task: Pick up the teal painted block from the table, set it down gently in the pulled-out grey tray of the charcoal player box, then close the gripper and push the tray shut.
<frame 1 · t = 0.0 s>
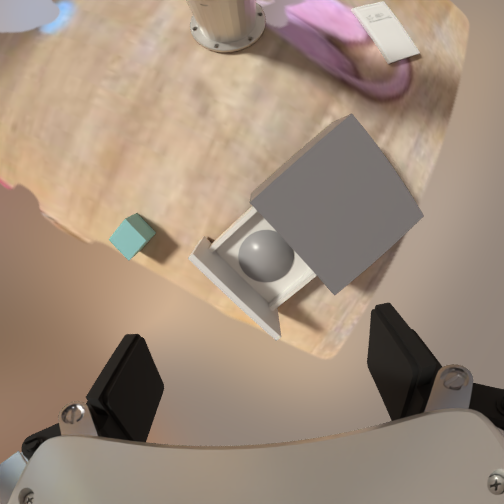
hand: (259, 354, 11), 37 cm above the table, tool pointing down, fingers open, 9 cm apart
external hard drive: (384, 32, 36), on the table
tray: (279, 252, 43), point 5 cm above the table, slide at 10.0 cm
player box: (328, 197, 46), on the table
teal block: (138, 232, 48), on the table
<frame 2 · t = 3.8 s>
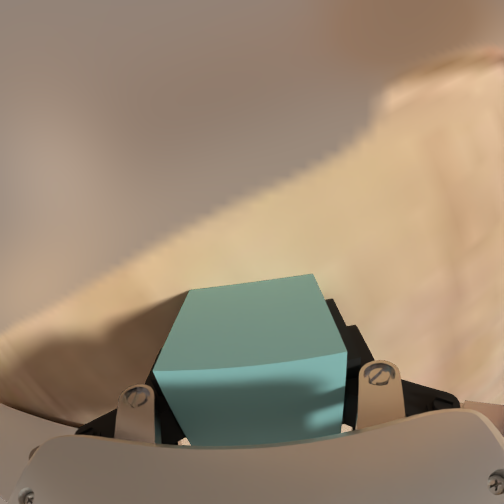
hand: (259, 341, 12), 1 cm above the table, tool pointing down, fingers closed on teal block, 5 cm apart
teal block: (259, 334, 12), on the table, touching gripper
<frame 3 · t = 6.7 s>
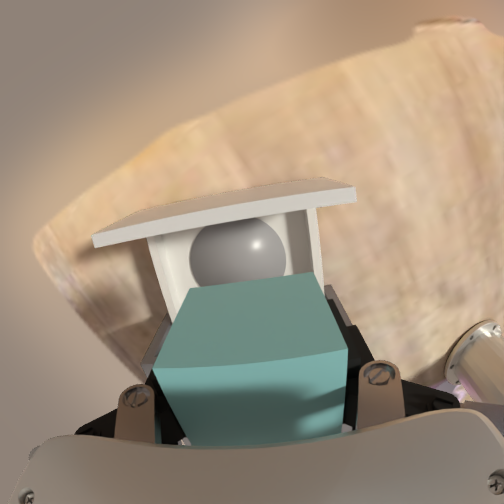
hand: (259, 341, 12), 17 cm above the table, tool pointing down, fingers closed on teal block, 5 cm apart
tray: (241, 301, 25), point 5 cm above the table, slide at 10.0 cm
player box: (261, 361, 33), on the table
teal block: (259, 332, 12), point 17 cm above the table, touching gripper
when the fingers open (4 cm above the table, at t = 10.0 s): teal block drops 1 cm, resting on tray.
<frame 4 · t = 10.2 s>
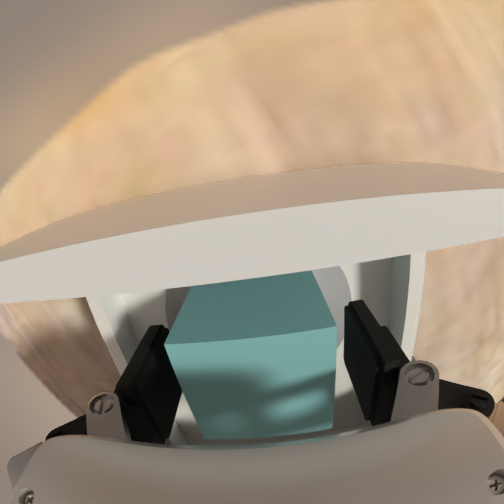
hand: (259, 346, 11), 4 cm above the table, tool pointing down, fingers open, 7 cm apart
tray: (267, 401, 11), point 5 cm above the table, slide at 10.0 cm, touching teal block
teal block: (258, 319, 13), point 2 cm above the table, touching tray
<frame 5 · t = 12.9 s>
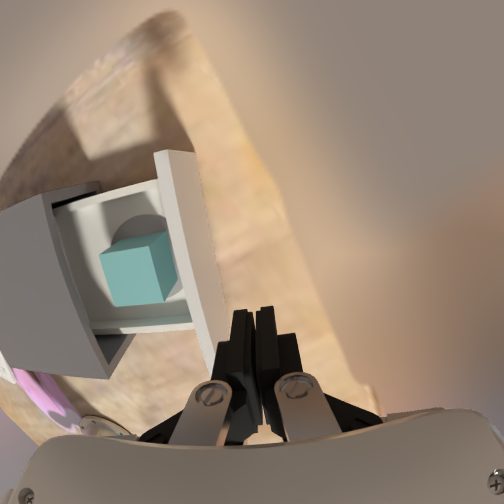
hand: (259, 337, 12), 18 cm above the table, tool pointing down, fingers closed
tray: (115, 273, 25), point 5 cm above the table, slide at 10.0 cm, touching teal block
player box: (62, 268, 30), on the table
teal block: (149, 259, 27), point 2 cm above the table, touching tray
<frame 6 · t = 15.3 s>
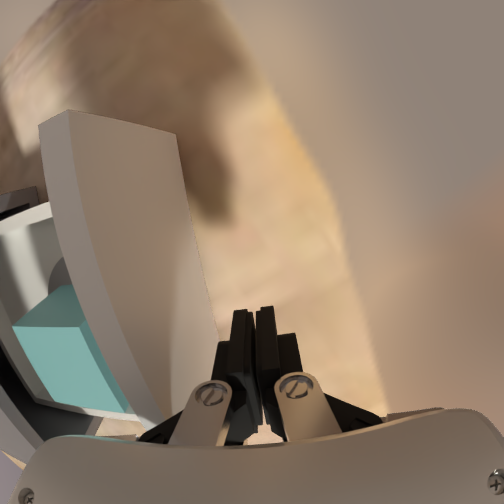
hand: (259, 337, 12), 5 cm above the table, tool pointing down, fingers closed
tray: (50, 346, 12), point 5 cm above the table, slide at 9.5 cm, touching gripper, teal block
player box: (7, 309, 18), on the table
teal block: (104, 320, 15), point 2 cm above the table, touching tray
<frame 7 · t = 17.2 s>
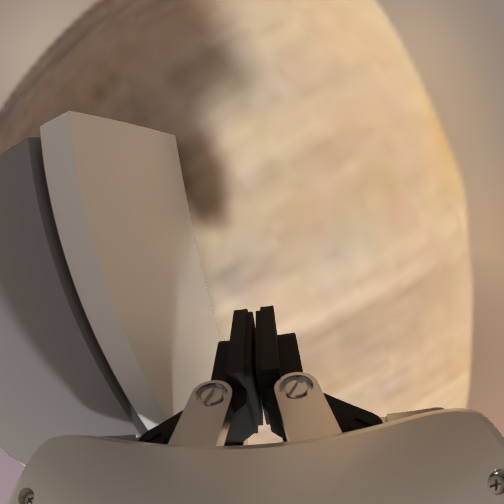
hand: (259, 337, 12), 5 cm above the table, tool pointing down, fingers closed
tray: (52, 347, 12), point 5 cm above the table, slide at -0.1 cm, touching gripper, teal block
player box: (77, 307, 17), on the table
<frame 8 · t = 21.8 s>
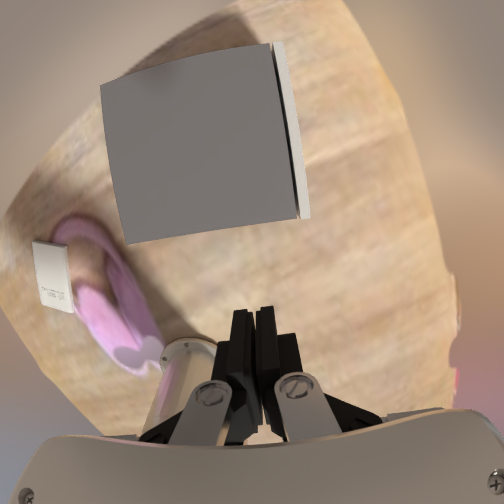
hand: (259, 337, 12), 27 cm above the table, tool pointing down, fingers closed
external hard drive: (55, 274, 42), on the table
tray: (212, 141, 30), point 5 cm above the table, slide at 0.0 cm, touching teal block
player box: (207, 146, 35), on the table
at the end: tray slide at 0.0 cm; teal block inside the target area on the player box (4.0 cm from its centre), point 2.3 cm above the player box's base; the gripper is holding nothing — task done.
